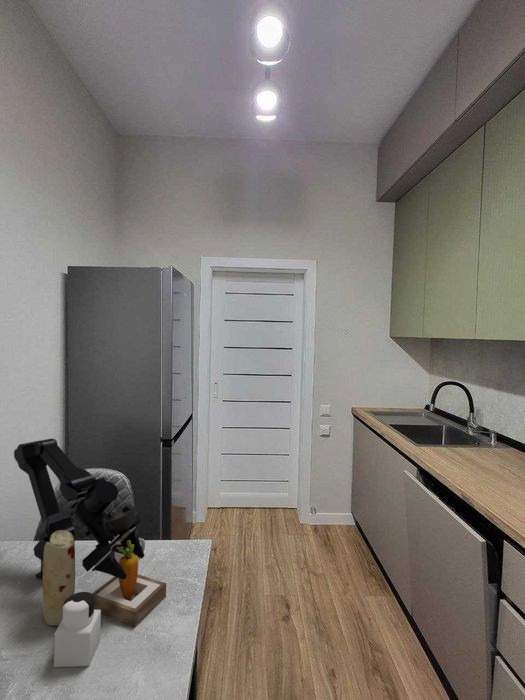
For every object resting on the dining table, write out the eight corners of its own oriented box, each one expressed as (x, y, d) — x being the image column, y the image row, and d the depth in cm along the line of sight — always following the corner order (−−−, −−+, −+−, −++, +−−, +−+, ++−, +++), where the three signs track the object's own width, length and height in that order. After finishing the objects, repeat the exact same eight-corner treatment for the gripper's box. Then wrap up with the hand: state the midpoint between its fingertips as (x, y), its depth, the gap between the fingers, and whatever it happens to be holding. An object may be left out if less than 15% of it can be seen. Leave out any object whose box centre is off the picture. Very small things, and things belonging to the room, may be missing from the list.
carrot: (131, 609, 97) (132, 549, 96) (113, 605, 98) (114, 546, 97) (142, 596, 101) (142, 539, 101) (124, 593, 103) (125, 536, 102)
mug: (108, 565, 115) (108, 543, 115) (111, 553, 122) (112, 532, 121) (143, 562, 117) (144, 540, 117) (145, 550, 124) (145, 529, 124)
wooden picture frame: (95, 606, 97) (95, 595, 97) (123, 583, 106) (123, 573, 106) (134, 621, 93) (135, 608, 93) (160, 596, 102) (160, 584, 102)
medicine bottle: (67, 641, 87) (68, 587, 86) (100, 640, 87) (101, 587, 87) (52, 668, 79) (53, 610, 79) (89, 667, 80) (90, 609, 80)
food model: (79, 622, 92) (81, 538, 92) (48, 636, 88) (50, 548, 87) (68, 600, 99) (69, 522, 99) (38, 612, 95) (39, 530, 94)
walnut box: (89, 609, 96) (89, 596, 96) (123, 582, 108) (123, 569, 108) (135, 627, 91) (135, 612, 91) (165, 596, 103) (166, 583, 102)
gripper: (95, 515, 90) (138, 569, 89) (134, 486, 109) (171, 530, 107) (63, 545, 92) (105, 598, 90) (107, 511, 110) (143, 554, 109)
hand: (134, 567), depth 99 cm, fingers open, 9 cm apart
